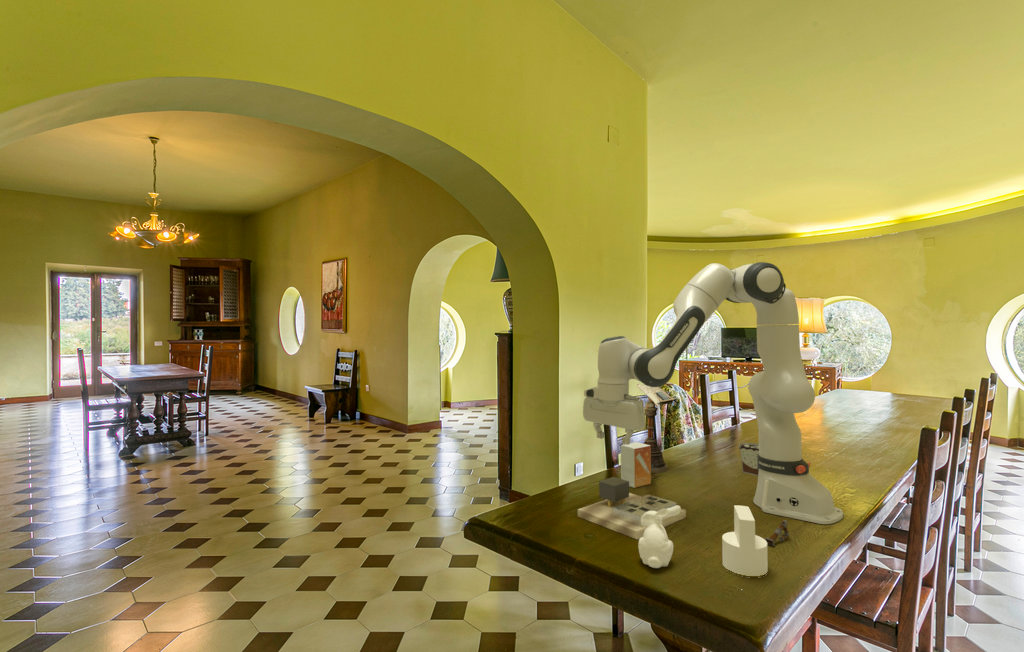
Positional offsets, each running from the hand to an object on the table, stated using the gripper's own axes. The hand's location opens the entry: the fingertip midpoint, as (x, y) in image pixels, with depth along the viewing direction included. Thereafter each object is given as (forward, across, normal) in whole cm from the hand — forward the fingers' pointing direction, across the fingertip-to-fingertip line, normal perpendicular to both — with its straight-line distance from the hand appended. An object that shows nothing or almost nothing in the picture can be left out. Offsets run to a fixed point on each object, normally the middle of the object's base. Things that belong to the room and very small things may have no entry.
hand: (613, 441), depth 144 cm
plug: (+18, 0, -1) cm, 18 cm away
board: (+20, -6, 0) cm, 21 cm away
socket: (+18, -11, 0) cm, 21 cm away
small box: (+20, +11, -25) cm, 34 cm away
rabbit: (+20, -26, +16) cm, 36 cm away
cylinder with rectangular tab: (+20, -40, +4) cm, 45 cm away
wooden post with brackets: (+20, -39, -14) cm, 46 cm away
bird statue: (+20, +16, -45) cm, 52 cm away
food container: (+20, -11, -67) cm, 71 cm away
